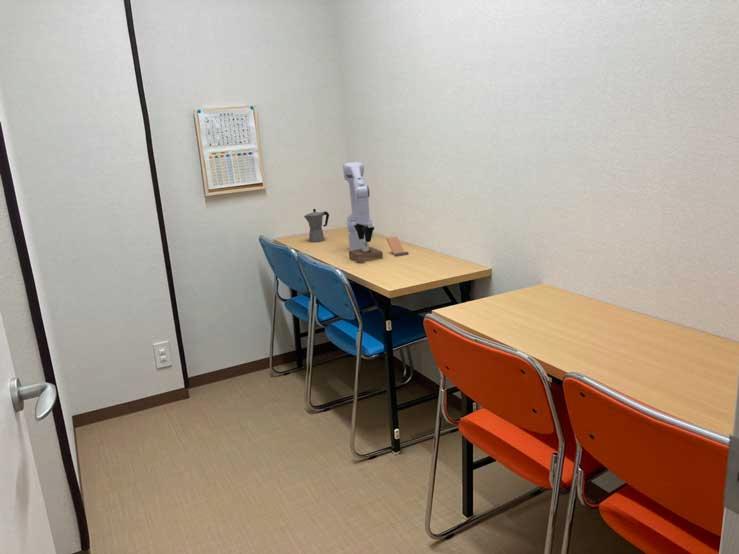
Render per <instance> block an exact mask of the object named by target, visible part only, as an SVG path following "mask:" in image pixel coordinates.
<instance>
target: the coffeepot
mask: <svg viewBox="0 0 739 554" xmlns="http://www.w3.org/2000/svg"><path fill="white" fill-rule="evenodd" d="M312 211H313V212H310V213H307V214H306V215H304V216H303V218H305V220H306V221H307V222H308V226H309V236H308V241H309V243H321V242H325V235H324V231H323V228H322V227H326V226H328V223H329V219H330V214H329V212H328V211H321V212H318V211H317V209H316V208H313V209H312ZM323 216H325V221H324V224H323V219H324V218H323Z"/></svg>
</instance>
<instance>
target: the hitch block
mask: <svg viewBox="0 0 739 554" xmlns="http://www.w3.org/2000/svg"><path fill="white" fill-rule="evenodd" d="M383 253H384V252H383V251H382V250H380V249H377V248H375V247H372V246H369V252H364V253H363V252H362V249H357V250H348V256H349V257H348V258H349V260H351V261H353V260H354V261H353V262H355V261H356V262H355V263H357V262H358V263H357V264H359V263H361V264H366V262H370V261H375V260H381V259H384V256H383V255H384V254H383Z"/></svg>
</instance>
